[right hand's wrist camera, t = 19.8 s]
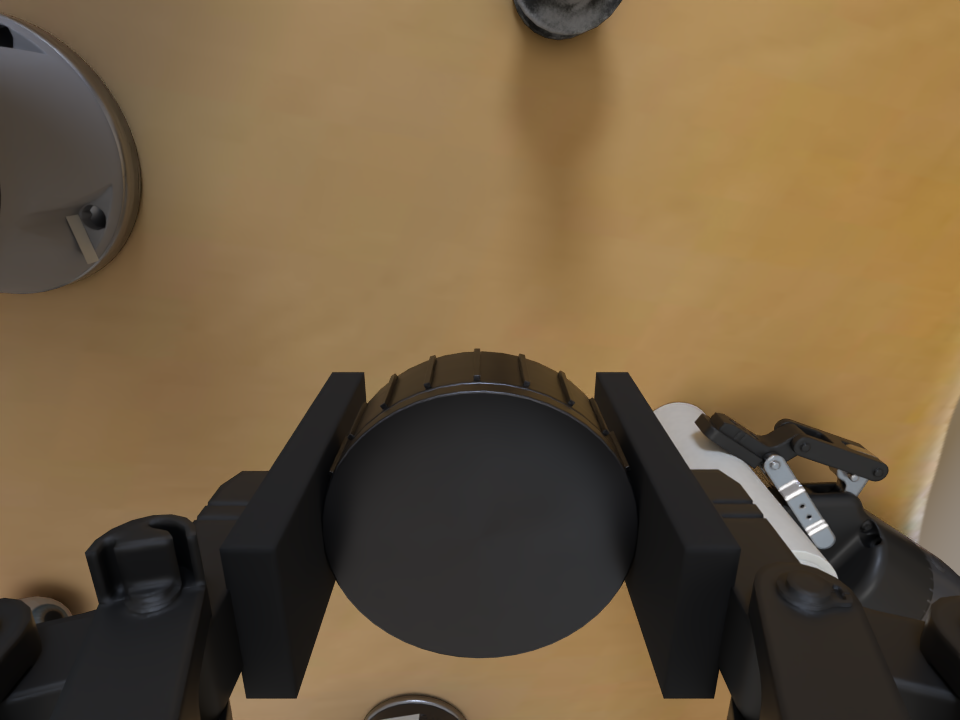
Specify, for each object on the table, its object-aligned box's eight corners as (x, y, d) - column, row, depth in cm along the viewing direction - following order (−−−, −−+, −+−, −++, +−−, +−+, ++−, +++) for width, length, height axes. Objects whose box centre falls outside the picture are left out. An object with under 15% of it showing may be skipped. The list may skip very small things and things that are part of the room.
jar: (725, 433, 41) (886, 624, 25) (670, 478, 42) (790, 687, 26) (679, 388, 40) (817, 557, 24) (624, 435, 41) (719, 627, 25)
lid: (375, 311, 11) (353, 345, 9) (662, 390, 11) (696, 437, 10) (317, 555, 13) (290, 624, 11) (567, 613, 13) (580, 688, 12)
